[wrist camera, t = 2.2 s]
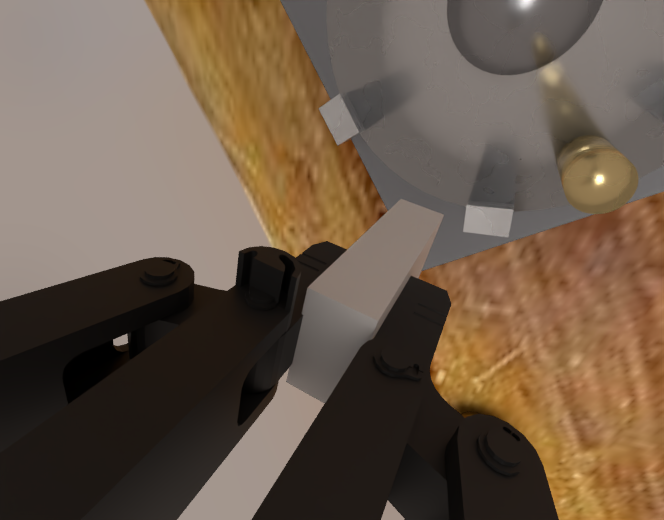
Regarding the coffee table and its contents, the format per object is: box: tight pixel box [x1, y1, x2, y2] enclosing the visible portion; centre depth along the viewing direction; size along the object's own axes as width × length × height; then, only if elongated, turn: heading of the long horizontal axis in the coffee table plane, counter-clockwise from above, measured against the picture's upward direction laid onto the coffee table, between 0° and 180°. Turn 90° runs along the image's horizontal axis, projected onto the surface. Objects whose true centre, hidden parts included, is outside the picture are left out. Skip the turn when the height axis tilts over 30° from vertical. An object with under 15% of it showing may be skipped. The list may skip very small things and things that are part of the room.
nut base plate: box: [280, 0, 664, 271], centre depth 21 cm, size 24×24×2 cm
